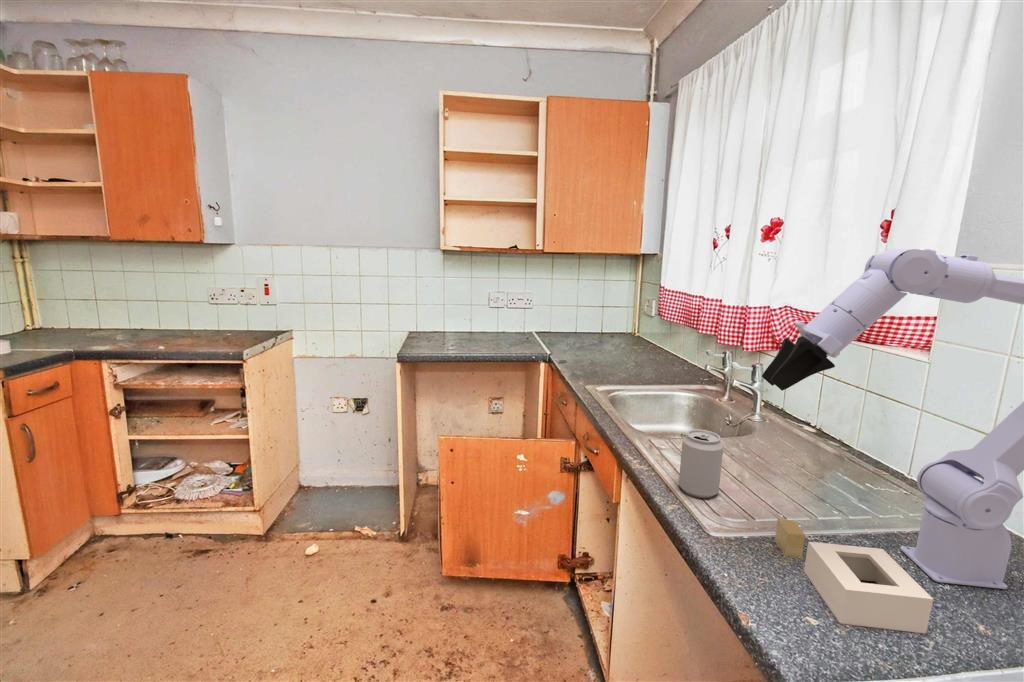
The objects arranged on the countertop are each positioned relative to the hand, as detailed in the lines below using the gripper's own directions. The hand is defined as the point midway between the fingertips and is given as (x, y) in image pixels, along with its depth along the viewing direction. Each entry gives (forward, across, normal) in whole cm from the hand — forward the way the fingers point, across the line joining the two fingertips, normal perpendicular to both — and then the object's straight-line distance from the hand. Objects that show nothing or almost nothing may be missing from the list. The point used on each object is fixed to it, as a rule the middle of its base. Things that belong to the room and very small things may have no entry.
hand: (771, 383), depth 70 cm
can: (+24, -21, +10) cm, 33 cm away
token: (+17, -7, +22) cm, 28 cm away
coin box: (+14, +2, +28) cm, 31 cm away
